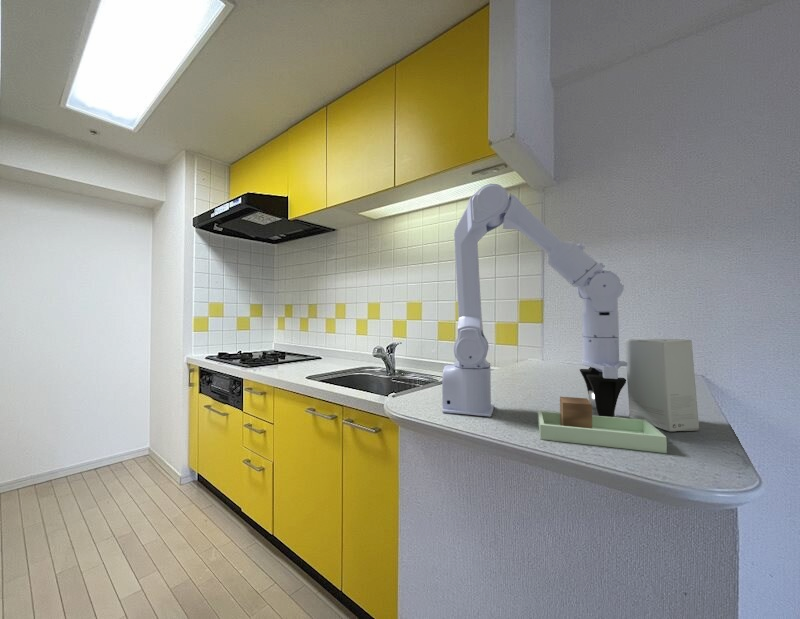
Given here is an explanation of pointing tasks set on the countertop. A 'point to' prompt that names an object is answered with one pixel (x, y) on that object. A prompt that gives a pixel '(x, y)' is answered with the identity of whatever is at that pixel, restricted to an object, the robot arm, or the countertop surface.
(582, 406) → the walnut block
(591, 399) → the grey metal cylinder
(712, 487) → the countertop surface
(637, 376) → the skincare box
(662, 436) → the parts tray
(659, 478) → the countertop surface
